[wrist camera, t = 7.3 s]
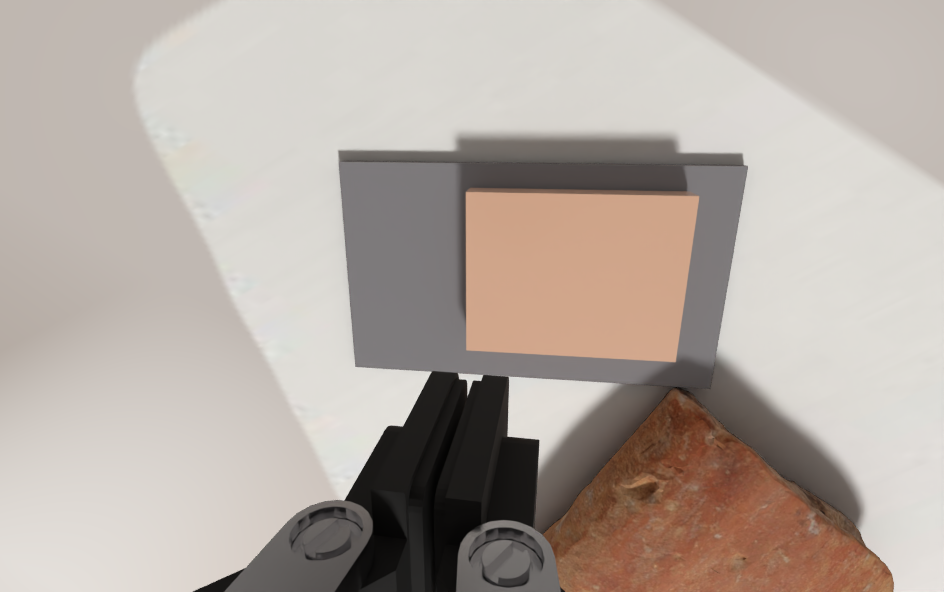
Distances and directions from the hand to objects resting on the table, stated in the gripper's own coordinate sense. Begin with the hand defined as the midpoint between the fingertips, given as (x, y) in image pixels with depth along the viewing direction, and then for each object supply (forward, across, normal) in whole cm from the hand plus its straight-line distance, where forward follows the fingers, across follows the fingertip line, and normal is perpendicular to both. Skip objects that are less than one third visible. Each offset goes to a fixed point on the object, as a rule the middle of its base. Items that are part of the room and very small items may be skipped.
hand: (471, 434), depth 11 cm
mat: (+13, 0, 0) cm, 13 cm away
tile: (+12, +2, 0) cm, 12 cm away
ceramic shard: (+14, -10, +15) cm, 23 cm away
